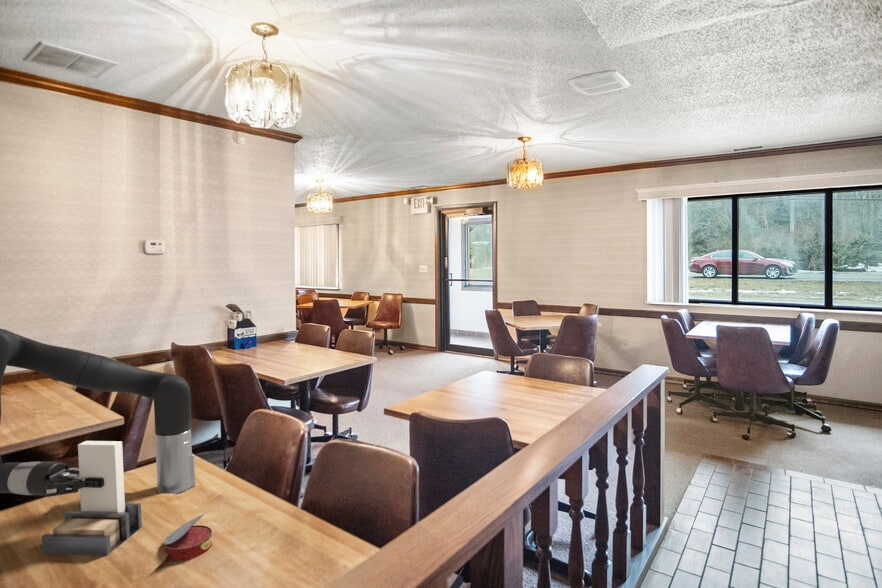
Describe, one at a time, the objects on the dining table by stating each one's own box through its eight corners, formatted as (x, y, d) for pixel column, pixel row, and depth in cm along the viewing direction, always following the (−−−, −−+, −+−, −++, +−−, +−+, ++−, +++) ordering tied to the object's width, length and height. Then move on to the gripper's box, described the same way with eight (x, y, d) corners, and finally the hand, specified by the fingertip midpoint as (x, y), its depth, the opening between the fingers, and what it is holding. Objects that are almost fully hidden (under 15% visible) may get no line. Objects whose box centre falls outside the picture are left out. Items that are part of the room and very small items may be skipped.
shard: (71, 525, 124) (71, 519, 124) (33, 533, 121) (33, 526, 121) (82, 506, 134) (81, 500, 134) (47, 512, 130) (47, 506, 130)
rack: (42, 560, 109) (41, 527, 108) (83, 531, 120) (81, 502, 120) (107, 561, 108) (106, 529, 108) (142, 532, 120) (140, 503, 119)
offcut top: (53, 539, 110) (52, 528, 110) (69, 528, 114) (69, 518, 114) (104, 540, 109) (104, 530, 109) (119, 529, 114) (118, 519, 114)
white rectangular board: (82, 534, 116) (77, 444, 115) (90, 528, 119) (86, 440, 117) (118, 535, 116) (114, 445, 114) (126, 529, 118) (122, 441, 117)
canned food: (184, 581, 108) (162, 554, 104) (167, 559, 115) (145, 533, 110) (229, 540, 115) (210, 513, 111) (210, 521, 122) (191, 495, 117)
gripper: (10, 475, 110) (84, 477, 109) (61, 451, 124) (127, 453, 123) (12, 507, 110) (86, 509, 110) (63, 480, 124) (128, 481, 123)
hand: (107, 479), depth 116 cm, fingers closed on white rectangular board, 2 cm apart
